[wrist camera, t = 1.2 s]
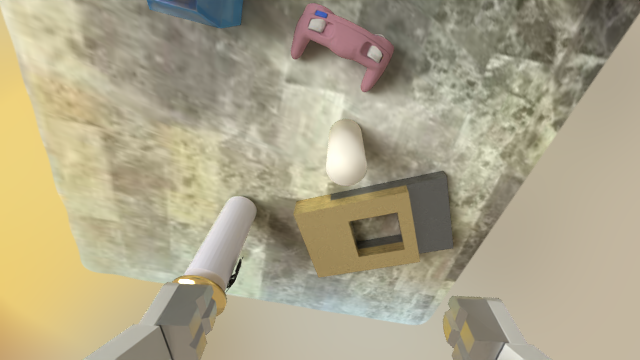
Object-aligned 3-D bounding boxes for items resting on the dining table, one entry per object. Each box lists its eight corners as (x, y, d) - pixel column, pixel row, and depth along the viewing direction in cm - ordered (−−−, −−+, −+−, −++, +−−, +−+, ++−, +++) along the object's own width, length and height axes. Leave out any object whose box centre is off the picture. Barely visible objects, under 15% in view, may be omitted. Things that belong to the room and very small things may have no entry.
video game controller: (382, 59, 34) (408, 35, 27) (367, 96, 34) (388, 82, 27) (302, 19, 33) (308, -17, 26) (286, 58, 33) (287, 33, 26)
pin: (357, 115, 36) (362, 145, 28) (364, 145, 38) (370, 181, 30) (325, 123, 37) (321, 154, 29) (333, 152, 39) (332, 189, 31)
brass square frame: (442, 170, 39) (450, 183, 36) (449, 240, 44) (456, 256, 42) (296, 201, 43) (293, 214, 40) (319, 261, 48) (318, 277, 45)
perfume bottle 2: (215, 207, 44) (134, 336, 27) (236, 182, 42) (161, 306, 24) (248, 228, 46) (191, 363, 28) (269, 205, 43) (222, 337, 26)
